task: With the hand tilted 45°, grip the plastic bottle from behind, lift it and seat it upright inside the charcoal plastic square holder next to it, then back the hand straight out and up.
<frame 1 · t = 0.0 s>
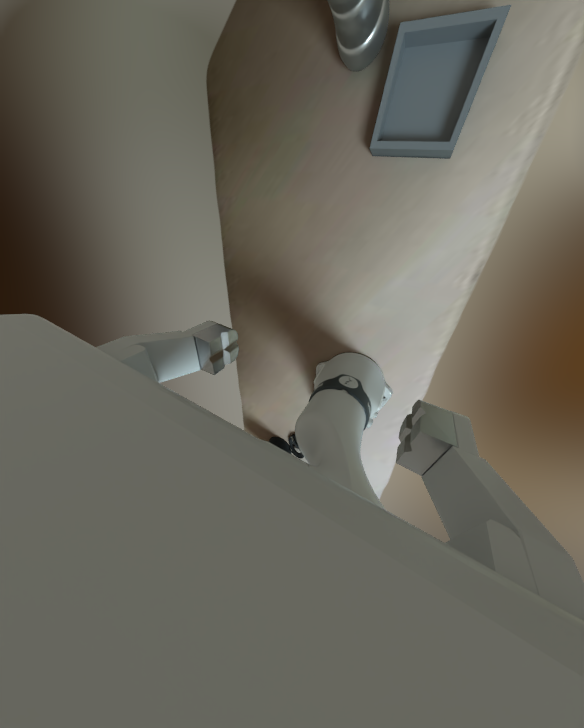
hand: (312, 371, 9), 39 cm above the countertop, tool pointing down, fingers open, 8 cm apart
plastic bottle: (365, 43, 29), on the countertop
milk frother: (287, 443, 74), on the countertop
holder: (426, 102, 29), on the countertop
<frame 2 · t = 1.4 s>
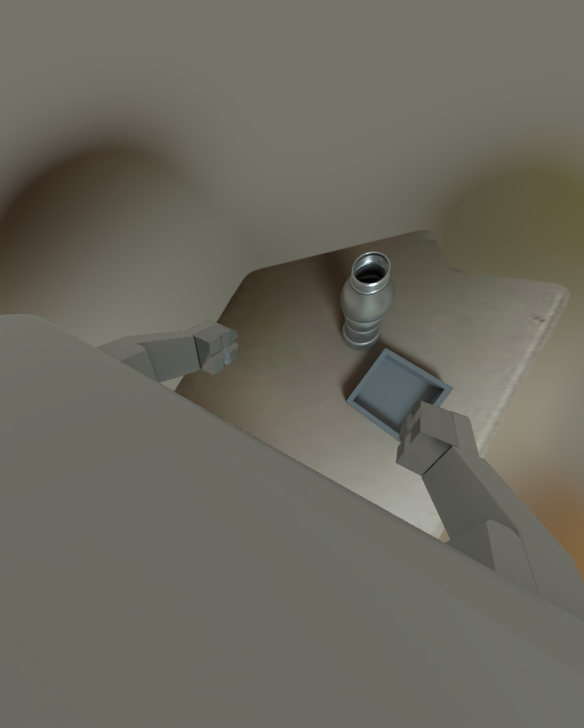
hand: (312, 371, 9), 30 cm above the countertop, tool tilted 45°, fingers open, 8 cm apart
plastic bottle: (360, 336, 39), on the countertop
holder: (392, 396, 36), on the countertop
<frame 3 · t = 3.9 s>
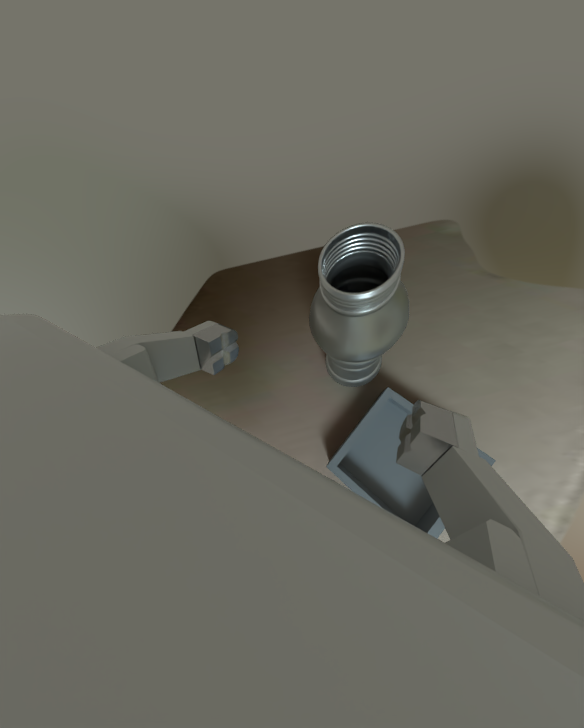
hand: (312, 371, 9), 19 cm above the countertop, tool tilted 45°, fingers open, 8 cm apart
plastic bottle: (352, 364, 28), on the countertop
holder: (397, 458, 24), on the countertop
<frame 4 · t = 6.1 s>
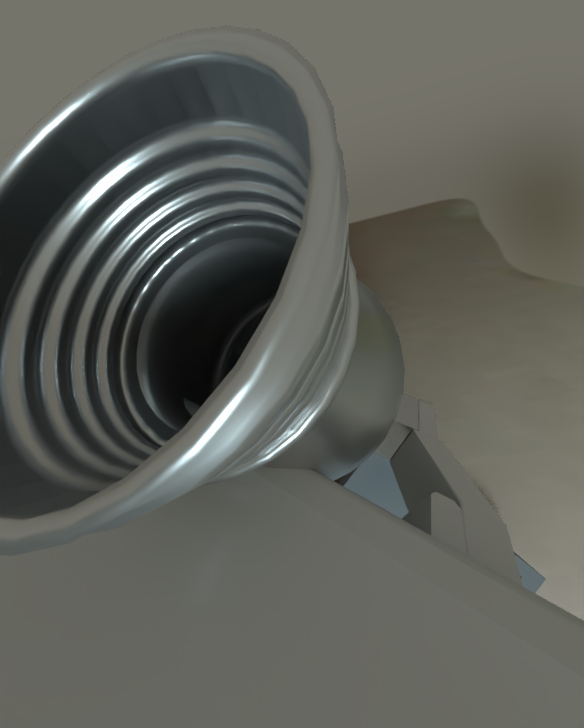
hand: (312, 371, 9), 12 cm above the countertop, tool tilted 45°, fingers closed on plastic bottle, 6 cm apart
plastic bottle: (330, 399, 20), on the countertop, touching gripper
holder: (390, 542, 17), on the countertop
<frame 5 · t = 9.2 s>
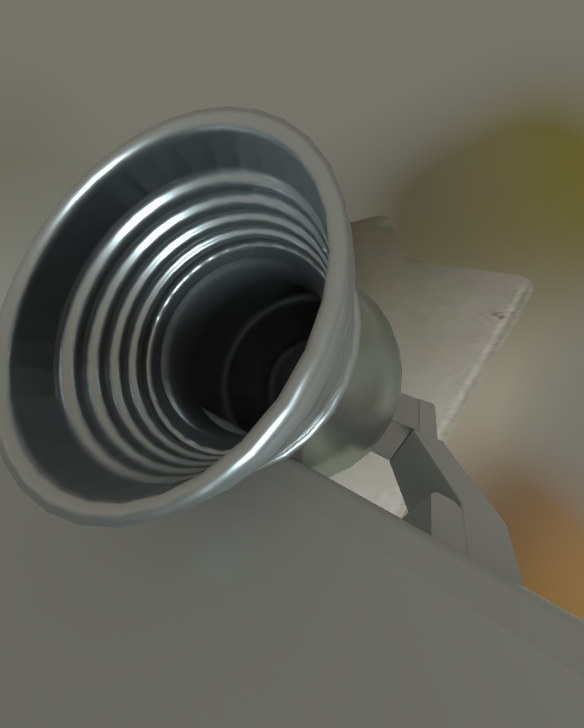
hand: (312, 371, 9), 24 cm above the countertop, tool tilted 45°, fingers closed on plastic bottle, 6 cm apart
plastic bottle: (330, 396, 21), point 12 cm above the countertop, touching gripper
when the fingers open (13 cm above the countertop, at t = 12.4 s): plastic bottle stays where it is, resting on holder.
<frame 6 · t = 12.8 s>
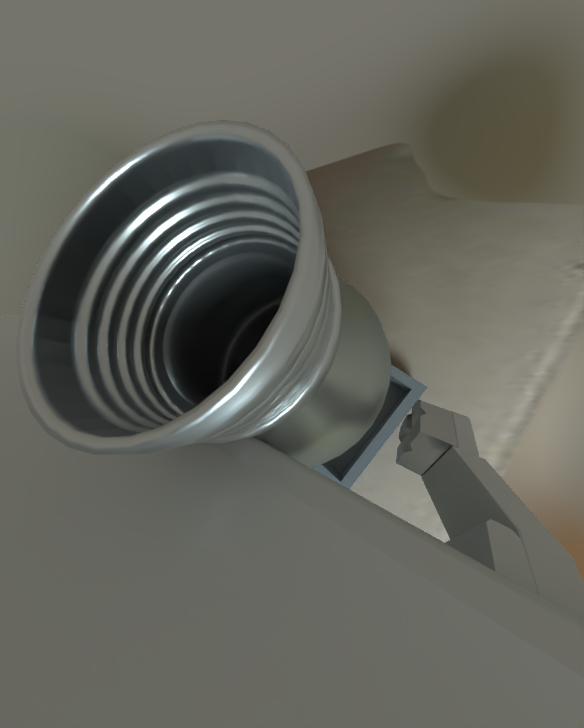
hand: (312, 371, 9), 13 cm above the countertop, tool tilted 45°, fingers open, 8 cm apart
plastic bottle: (328, 396, 21), resting on holder
holder: (331, 400, 21), on the countertop
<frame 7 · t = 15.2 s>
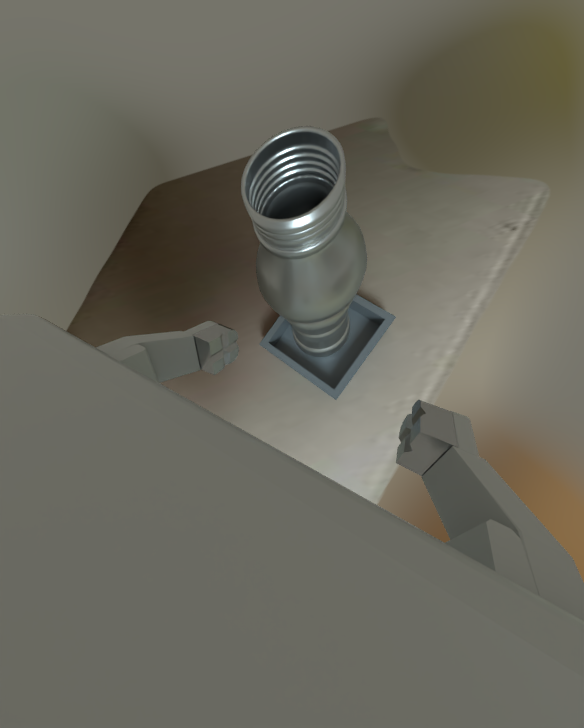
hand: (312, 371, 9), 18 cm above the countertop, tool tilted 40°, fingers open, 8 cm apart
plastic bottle: (322, 334, 27), resting on holder
holder: (324, 337, 27), on the countertop
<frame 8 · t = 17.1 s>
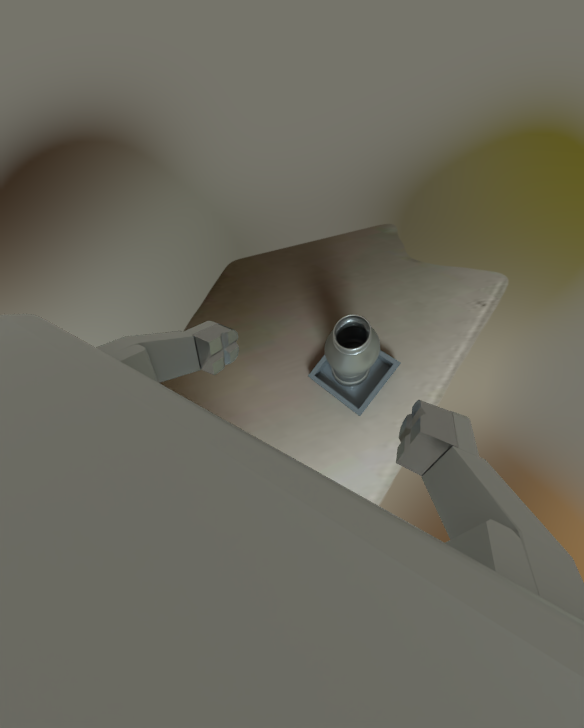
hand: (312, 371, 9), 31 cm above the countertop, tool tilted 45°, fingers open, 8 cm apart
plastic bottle: (350, 370, 39), resting on holder
holder: (351, 372, 39), on the countertop
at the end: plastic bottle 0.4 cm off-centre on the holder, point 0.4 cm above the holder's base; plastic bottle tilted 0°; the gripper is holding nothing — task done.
